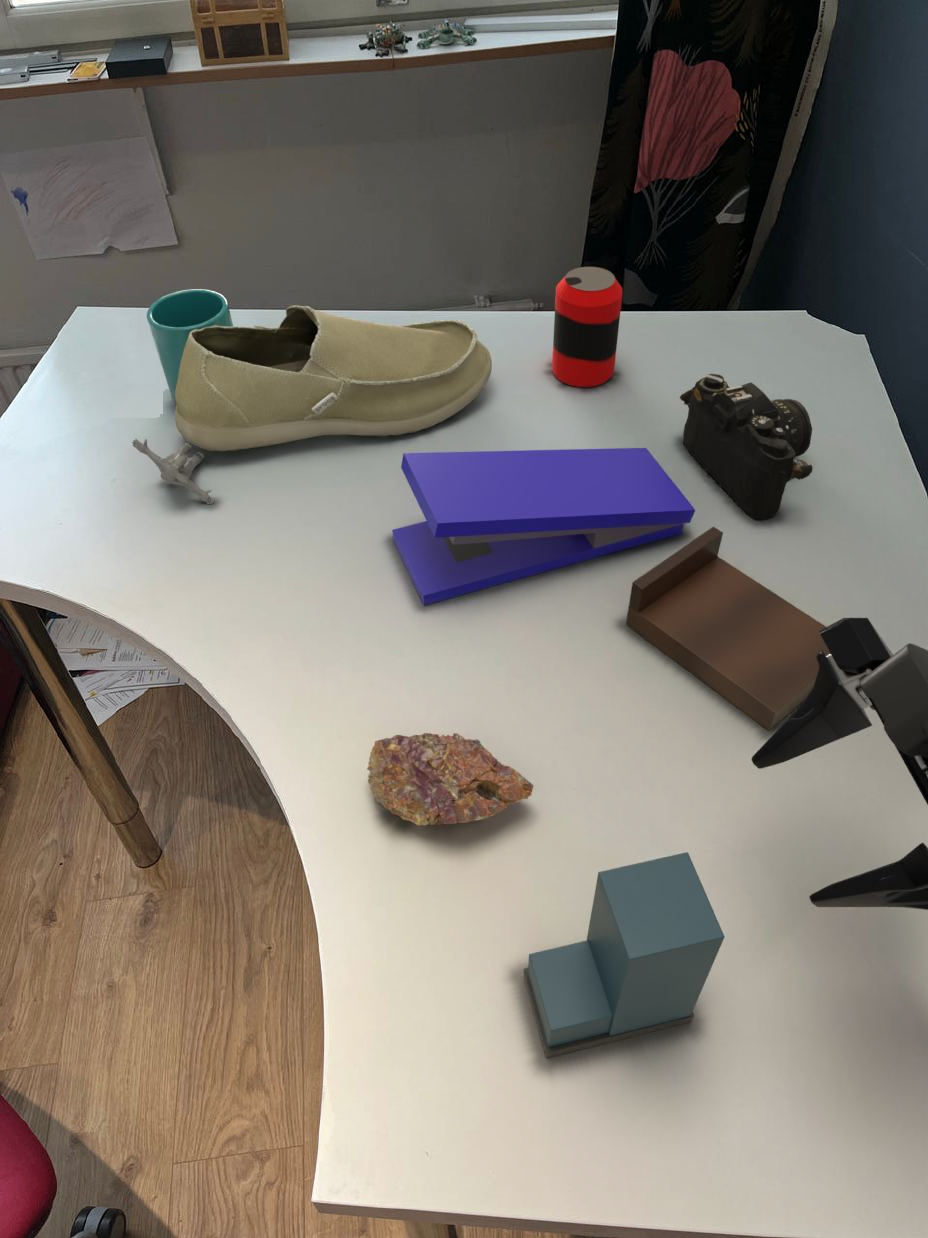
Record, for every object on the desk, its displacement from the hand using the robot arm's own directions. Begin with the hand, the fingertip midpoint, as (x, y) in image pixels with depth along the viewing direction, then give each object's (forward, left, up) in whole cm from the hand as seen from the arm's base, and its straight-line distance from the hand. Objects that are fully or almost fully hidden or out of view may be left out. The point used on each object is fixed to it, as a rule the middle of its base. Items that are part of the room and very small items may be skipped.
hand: (781, 829), depth 54 cm
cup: (+65, -56, -15) cm, 87 cm away
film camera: (+1, -53, -15) cm, 55 cm away
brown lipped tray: (+1, -27, -14) cm, 31 cm away
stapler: (+21, -38, -15) cm, 45 cm away
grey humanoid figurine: (+61, -37, -15) cm, 73 cm away
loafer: (+48, -54, -14) cm, 73 cm away
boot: (+8, +7, -14) cm, 18 cm away
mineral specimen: (+22, -6, -15) cm, 27 cm away
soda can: (+21, -68, -15) cm, 73 cm away
